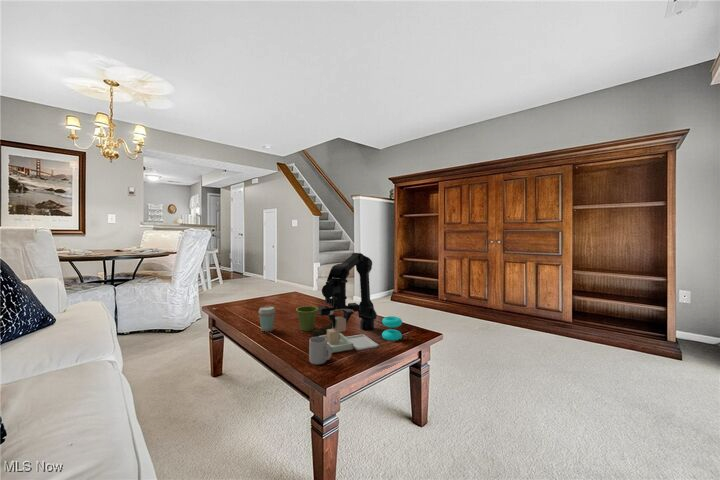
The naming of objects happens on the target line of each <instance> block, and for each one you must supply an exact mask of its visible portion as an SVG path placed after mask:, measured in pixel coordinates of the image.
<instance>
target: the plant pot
mask: <svg viewBox="0 0 720 480" xmlns="http://www.w3.org/2000/svg"><path fill="white" fill-rule="evenodd" d="M318 308H319V307H317V306H313V305H304V306H299V307H297V308H295V310H296V312H297V316H298V323H299V328H300V331H303V332H311V331H314V329H315V325H316V324H315V323H316V318H317V313H318Z"/></svg>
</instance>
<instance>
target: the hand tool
mask: <svg viewBox="0 0 720 480" xmlns="http://www.w3.org/2000/svg"><path fill="white" fill-rule="evenodd" d="M328 329H332V323H331V322H330V323H329V324H328V325H326V326H323V327H321V328H319V329H315V330H311V331H312V332H311V334H312V335H311V337H312V338H313V337H319V336H322V335H327V330H328Z"/></svg>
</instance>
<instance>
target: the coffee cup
mask: <svg viewBox="0 0 720 480" xmlns="http://www.w3.org/2000/svg"><path fill="white" fill-rule="evenodd" d="M258 314H259V322H260V332H262V331H265V332H264V333H267V332H266V331H270V332H273V330H274V322H275V321H274V320H275V314H276V309H275V307H274V306H263V307H260V308H259V310H258Z"/></svg>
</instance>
